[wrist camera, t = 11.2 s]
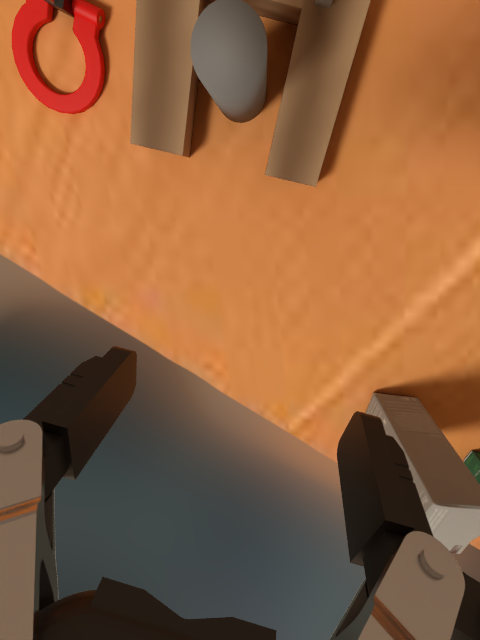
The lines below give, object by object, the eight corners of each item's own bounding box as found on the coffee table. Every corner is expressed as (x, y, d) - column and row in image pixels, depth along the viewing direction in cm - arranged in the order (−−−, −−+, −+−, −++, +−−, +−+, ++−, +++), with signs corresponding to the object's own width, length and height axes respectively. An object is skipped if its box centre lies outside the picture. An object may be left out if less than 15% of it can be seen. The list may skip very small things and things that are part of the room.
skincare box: (372, 390, 42) (427, 499, 28) (423, 396, 42) (505, 510, 28) (355, 434, 46) (397, 551, 32) (403, 440, 46) (466, 561, 32)
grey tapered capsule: (272, 67, 28) (276, 8, 18) (259, 127, 30) (257, 104, 20) (220, 54, 28) (196, -12, 18) (212, 116, 30) (185, 87, 20)
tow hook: (98, 129, 32) (117, 17, 27) (0, 113, 20) (5, -85, 16) (17, 91, 31) (24, -32, 26) (-133, 50, 19) (-166, -176, 15)
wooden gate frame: (362, 8, 26) (414, -81, 17) (311, 185, 32) (330, 190, 23) (153, -44, 25) (91, -164, 16) (141, 146, 31) (92, 134, 22)
